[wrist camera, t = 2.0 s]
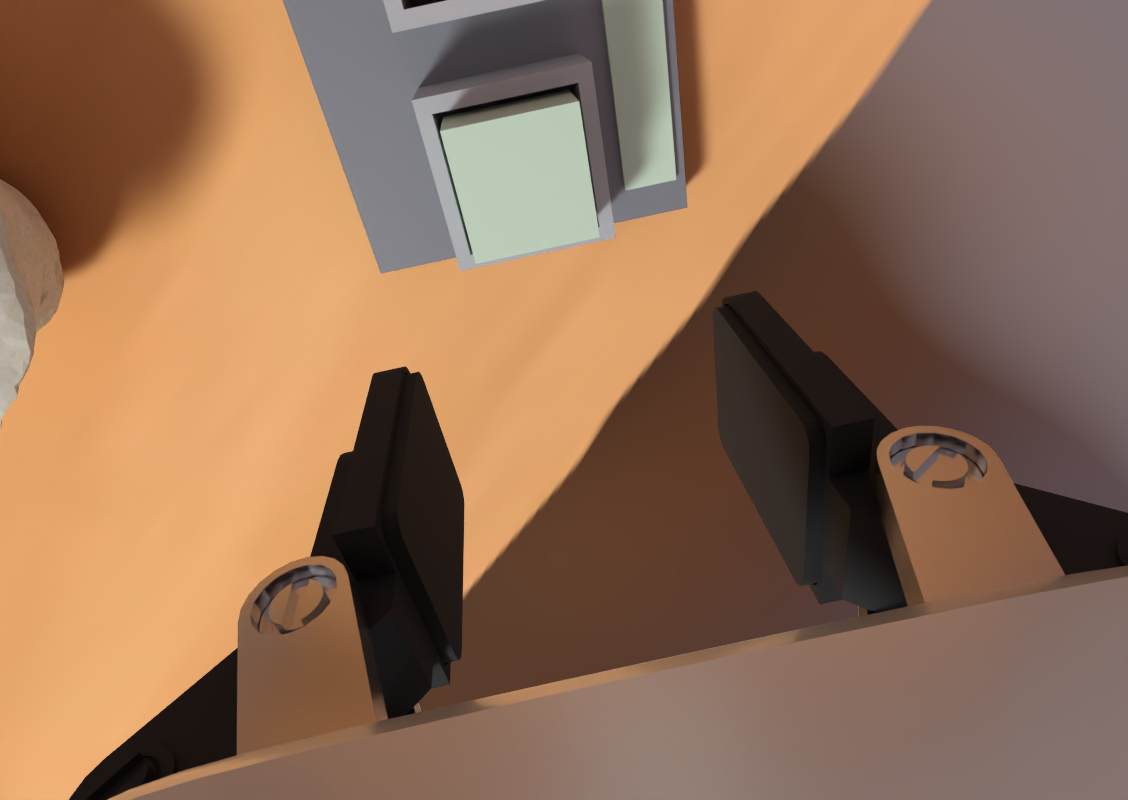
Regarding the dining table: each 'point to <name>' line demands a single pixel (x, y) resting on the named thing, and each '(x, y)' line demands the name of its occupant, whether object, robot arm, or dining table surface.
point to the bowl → (23, 286)
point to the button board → (489, 104)
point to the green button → (521, 175)
